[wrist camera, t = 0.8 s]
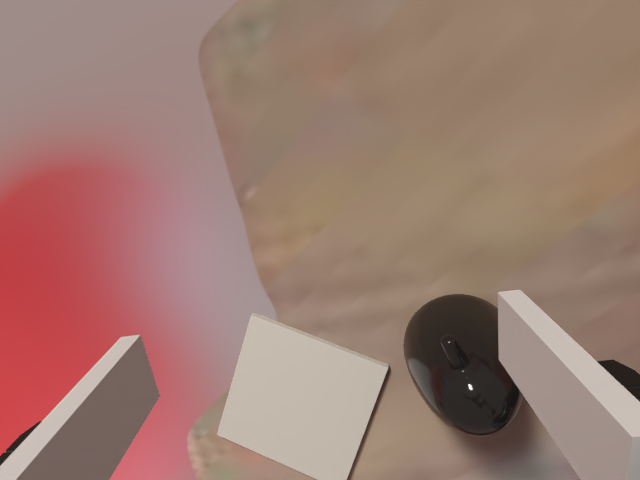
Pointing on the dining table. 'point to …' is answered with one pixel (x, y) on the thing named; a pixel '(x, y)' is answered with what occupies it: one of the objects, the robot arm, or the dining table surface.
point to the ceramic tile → (300, 399)
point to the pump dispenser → (461, 365)
